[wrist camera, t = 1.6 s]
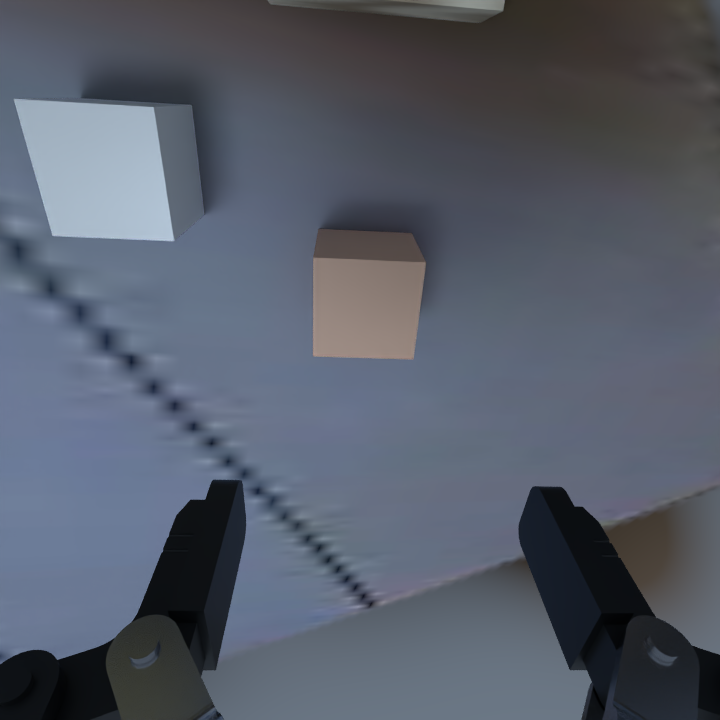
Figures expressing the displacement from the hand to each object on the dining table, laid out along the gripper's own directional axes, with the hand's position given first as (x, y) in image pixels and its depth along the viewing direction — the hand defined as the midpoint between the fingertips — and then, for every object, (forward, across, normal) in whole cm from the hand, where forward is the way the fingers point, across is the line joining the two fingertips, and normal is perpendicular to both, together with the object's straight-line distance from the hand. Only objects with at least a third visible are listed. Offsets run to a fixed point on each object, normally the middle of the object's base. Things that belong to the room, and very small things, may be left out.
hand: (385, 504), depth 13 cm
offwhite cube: (+18, +12, -6) cm, 23 cm away
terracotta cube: (+18, 0, 0) cm, 18 cm away
